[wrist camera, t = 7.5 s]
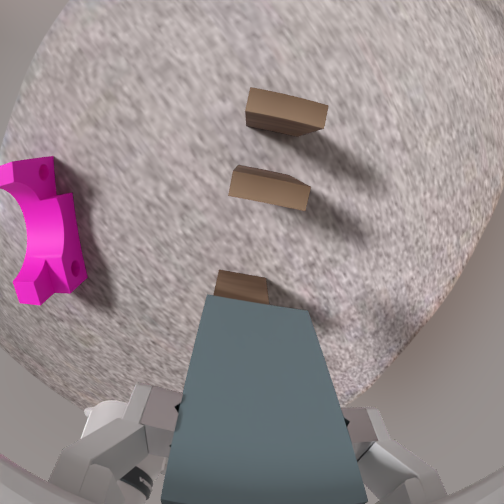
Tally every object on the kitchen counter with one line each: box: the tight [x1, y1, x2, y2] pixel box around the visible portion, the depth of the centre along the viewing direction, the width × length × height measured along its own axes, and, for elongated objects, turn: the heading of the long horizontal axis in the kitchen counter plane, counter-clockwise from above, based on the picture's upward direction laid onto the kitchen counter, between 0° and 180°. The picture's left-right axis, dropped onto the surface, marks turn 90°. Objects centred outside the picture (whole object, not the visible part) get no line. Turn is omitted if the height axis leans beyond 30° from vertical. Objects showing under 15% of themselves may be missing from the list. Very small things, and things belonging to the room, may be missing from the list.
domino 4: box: [161, 294, 368, 504], centre depth 9 cm, size 2×5×10 cm, turn 79°
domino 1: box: [245, 87, 328, 137], centre depth 21 cm, size 2×5×10 cm, turn 79°
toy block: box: [0, 156, 88, 305], centre depth 25 cm, size 15×6×8 cm, turn 2°
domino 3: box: [213, 270, 269, 305], centre depth 26 cm, size 2×5×10 cm, turn 79°
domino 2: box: [228, 165, 311, 211], centre depth 23 cm, size 2×5×10 cm, turn 79°
